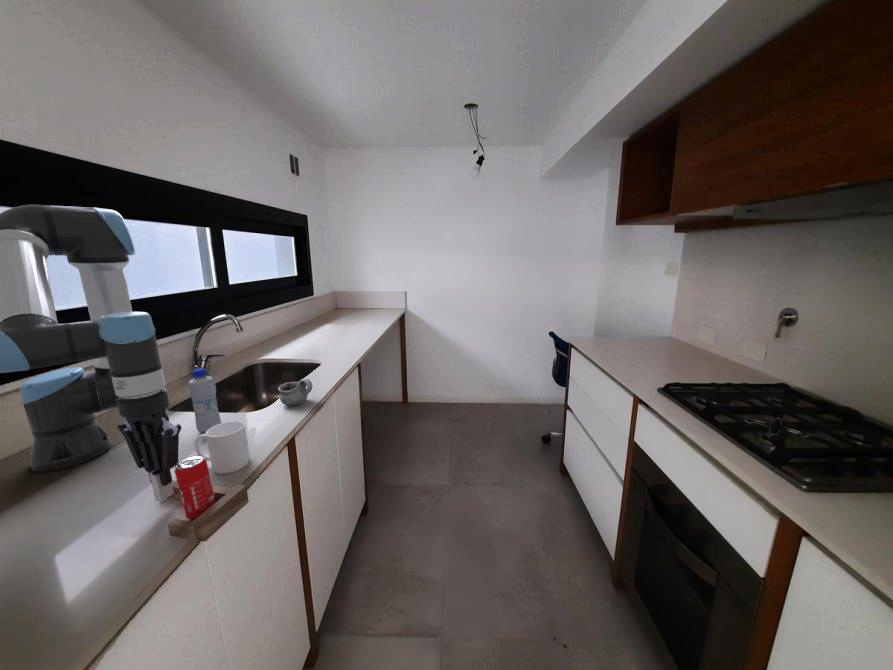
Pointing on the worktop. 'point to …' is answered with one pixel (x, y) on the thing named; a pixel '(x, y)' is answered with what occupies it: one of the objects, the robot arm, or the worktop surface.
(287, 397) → the mug
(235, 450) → the cup
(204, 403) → the bottle
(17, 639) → the worktop surface
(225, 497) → the hook tool
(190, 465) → the beverage can
